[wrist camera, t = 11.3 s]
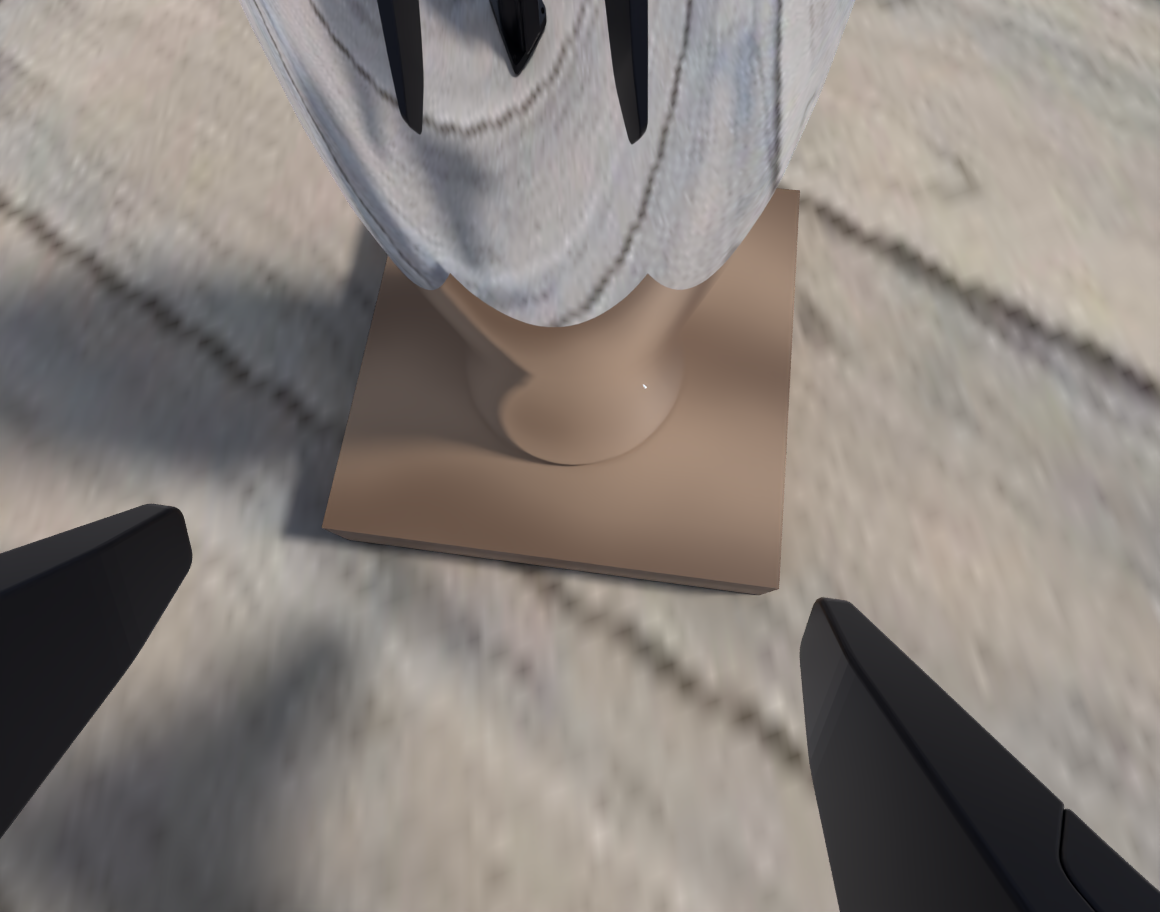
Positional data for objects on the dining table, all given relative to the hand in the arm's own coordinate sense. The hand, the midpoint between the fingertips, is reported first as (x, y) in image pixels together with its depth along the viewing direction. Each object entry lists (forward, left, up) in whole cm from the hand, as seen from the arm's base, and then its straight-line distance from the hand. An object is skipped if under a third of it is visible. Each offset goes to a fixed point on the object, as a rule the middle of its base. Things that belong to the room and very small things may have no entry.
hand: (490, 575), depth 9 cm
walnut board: (+6, +4, -10) cm, 12 cm away
